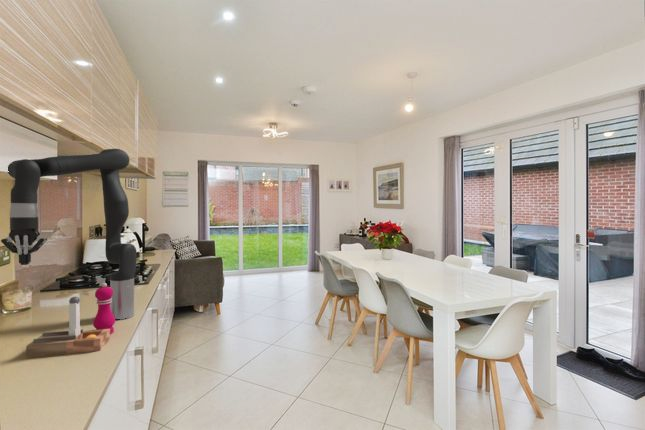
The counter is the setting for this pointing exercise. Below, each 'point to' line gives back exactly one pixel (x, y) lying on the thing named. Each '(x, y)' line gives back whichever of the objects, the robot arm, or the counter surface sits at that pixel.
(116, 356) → the counter surface
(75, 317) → the launcher plunger
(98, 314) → the pepper mill
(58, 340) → the launcher track
